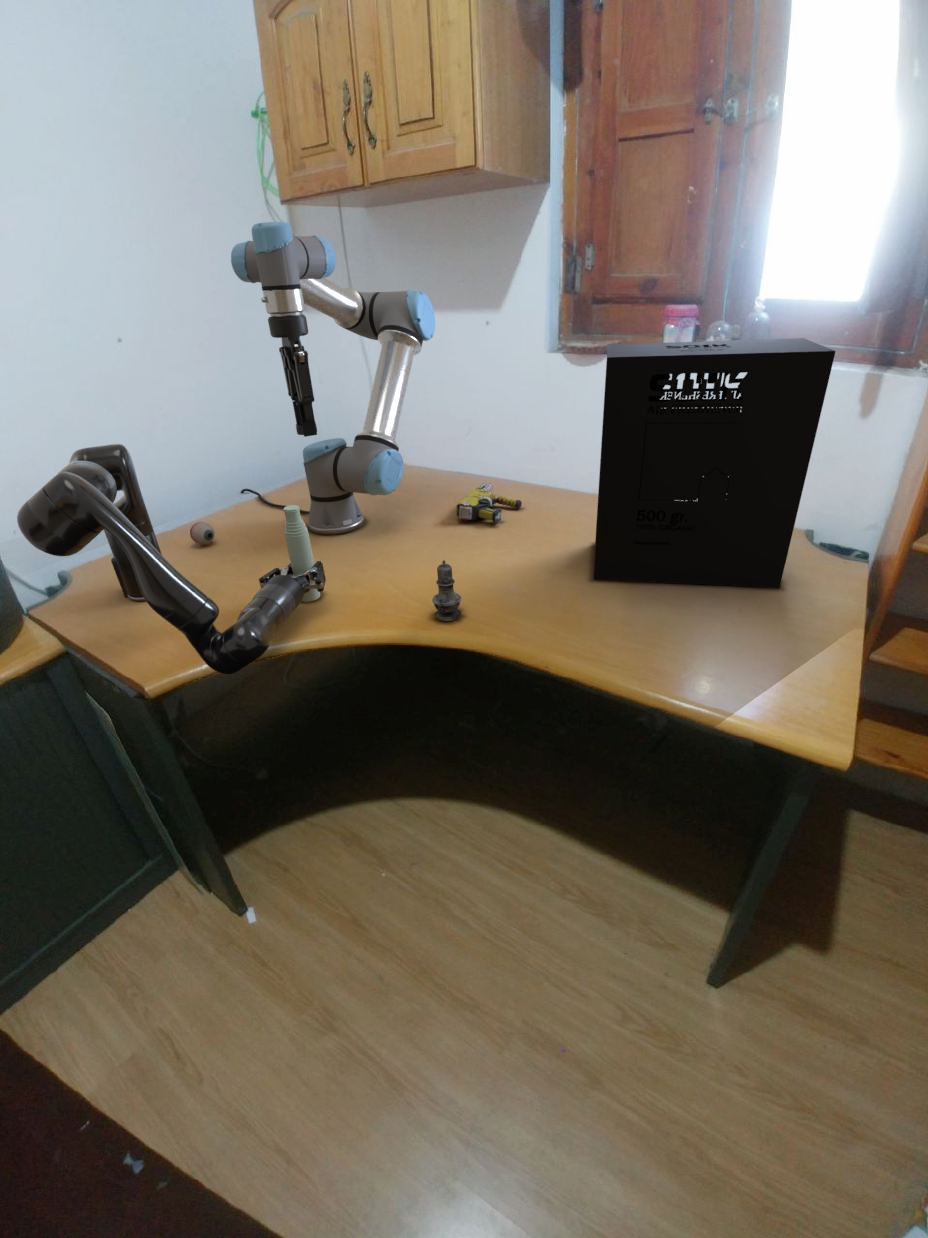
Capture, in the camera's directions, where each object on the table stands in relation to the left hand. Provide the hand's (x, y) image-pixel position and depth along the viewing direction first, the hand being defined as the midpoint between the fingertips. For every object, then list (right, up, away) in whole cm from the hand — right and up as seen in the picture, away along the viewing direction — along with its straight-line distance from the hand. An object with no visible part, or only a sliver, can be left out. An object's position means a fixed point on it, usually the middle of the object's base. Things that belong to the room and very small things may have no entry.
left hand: (308, 564), depth 131 cm
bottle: (0, -7, +1) cm, 7 cm away
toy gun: (+43, +19, +42) cm, 63 cm away
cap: (-1, +31, 0) cm, 31 cm away
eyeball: (-35, +8, +31) cm, 48 cm away
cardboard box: (+83, +1, +6) cm, 83 cm away
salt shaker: (+31, -11, -9) cm, 34 cm away
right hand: (0, +29, +1) cm, 29 cm away
